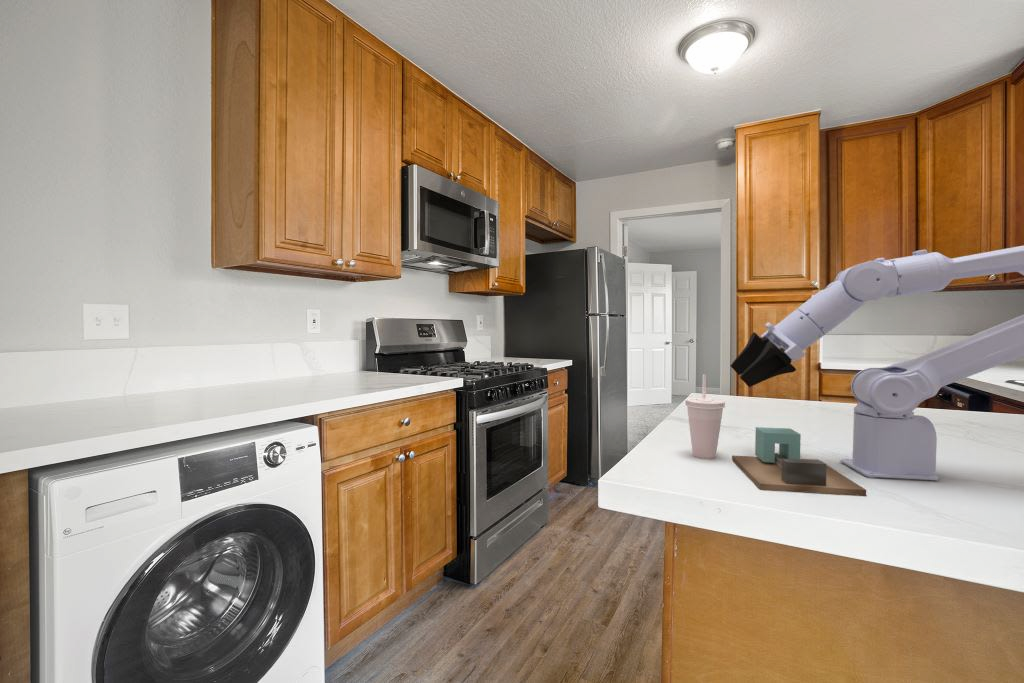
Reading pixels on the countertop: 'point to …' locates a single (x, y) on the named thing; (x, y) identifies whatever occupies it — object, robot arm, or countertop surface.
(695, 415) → the smoothie
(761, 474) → the rail board
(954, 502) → the countertop surface
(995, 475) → the countertop surface
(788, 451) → the block
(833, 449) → the countertop surface
